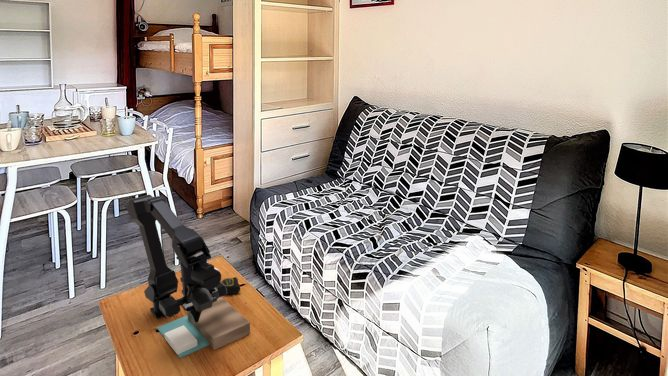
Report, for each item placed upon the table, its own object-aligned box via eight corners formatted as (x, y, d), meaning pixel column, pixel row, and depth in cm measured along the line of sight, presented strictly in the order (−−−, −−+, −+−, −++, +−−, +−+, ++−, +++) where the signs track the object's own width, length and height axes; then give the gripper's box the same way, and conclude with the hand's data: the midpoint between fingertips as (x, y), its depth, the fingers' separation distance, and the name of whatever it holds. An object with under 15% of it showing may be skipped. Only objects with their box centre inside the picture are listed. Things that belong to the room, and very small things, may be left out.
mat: (157, 328, 136) (157, 327, 136) (188, 316, 143) (188, 315, 142) (180, 358, 124) (179, 356, 124) (212, 343, 131) (212, 341, 130)
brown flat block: (188, 320, 140) (186, 310, 139) (222, 306, 148) (221, 296, 147) (214, 350, 128) (213, 338, 126) (250, 333, 135) (249, 322, 134)
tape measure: (240, 294, 156) (240, 285, 154) (221, 297, 153) (220, 288, 152) (238, 284, 162) (237, 275, 160) (219, 287, 159) (218, 278, 158)
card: (183, 325, 134) (184, 330, 135) (164, 333, 130) (165, 338, 131) (196, 340, 128) (197, 345, 129) (176, 348, 124) (177, 354, 125)
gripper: (171, 300, 115) (176, 349, 120) (234, 276, 127) (237, 322, 132) (155, 282, 123) (161, 329, 128) (216, 262, 135) (219, 305, 140)
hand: (196, 321), depth 132 cm, fingers closed
